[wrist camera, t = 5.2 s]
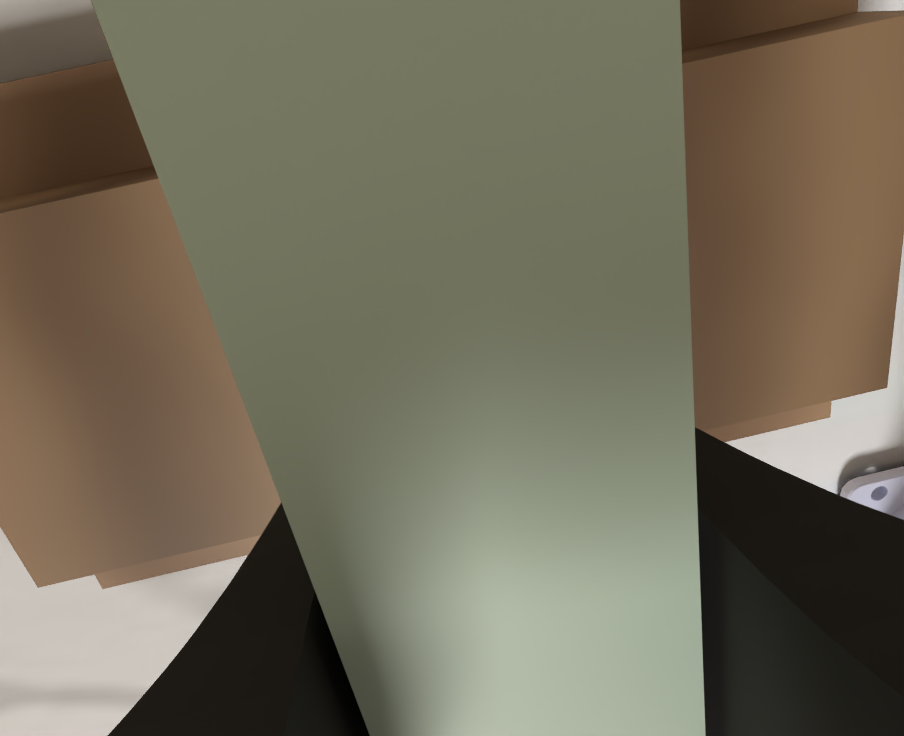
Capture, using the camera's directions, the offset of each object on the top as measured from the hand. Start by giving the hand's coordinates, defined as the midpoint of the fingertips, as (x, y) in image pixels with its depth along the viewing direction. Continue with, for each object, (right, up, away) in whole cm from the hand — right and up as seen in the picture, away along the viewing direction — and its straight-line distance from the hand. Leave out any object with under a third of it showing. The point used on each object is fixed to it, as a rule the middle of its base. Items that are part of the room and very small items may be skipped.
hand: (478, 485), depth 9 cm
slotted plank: (-1, +4, +8) cm, 8 cm away
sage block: (0, +1, +2) cm, 3 cm away
